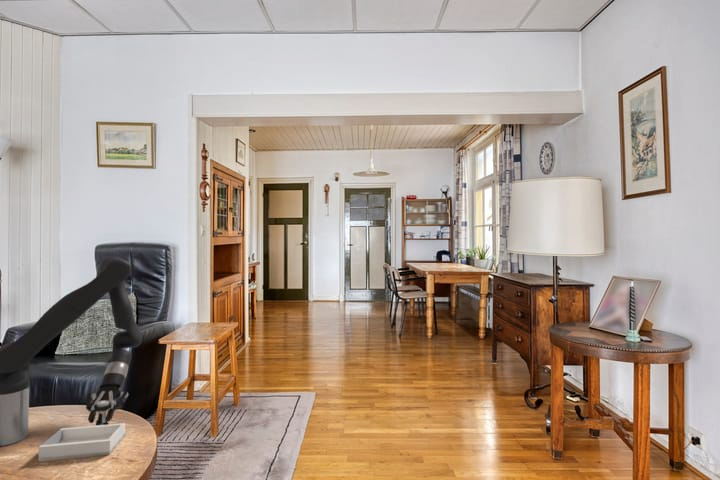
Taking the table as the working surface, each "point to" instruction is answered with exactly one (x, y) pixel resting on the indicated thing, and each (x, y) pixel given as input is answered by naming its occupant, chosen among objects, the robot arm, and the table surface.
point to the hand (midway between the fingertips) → (99, 421)
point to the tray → (82, 442)
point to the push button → (102, 411)
